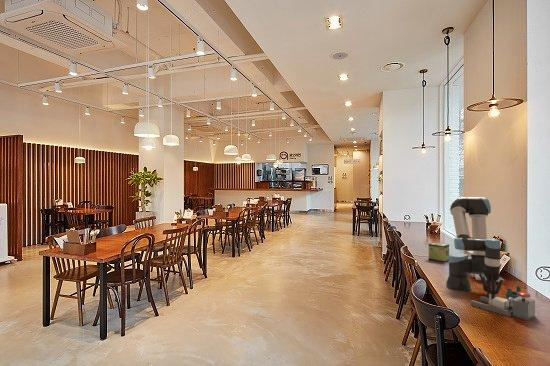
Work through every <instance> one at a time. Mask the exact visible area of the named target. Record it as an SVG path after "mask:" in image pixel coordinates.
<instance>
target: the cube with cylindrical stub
mask: <svg viewBox="0 0 550 366" xmlns="http://www.w3.org/2000/svg"><path fill="white" fill-rule="evenodd" d="M507 301H508V299H506V298H503V297H501V296H500V297H499V296H495V298H493V299H492V305H491V306H495V307H498V308H502V309H505V310H507Z"/></svg>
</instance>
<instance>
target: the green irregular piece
mask: <svg viewBox="0 0 550 366" xmlns="http://www.w3.org/2000/svg"><path fill="white" fill-rule="evenodd" d="M506 290H507V291H505V299H508V298H509V297H512V298H514V299H515V298H517V297H519V296H518V295H517V292H522V287H521V286H520V285H517V286H516V291H514V290H513V288H511V287H508V288H507V289H506Z"/></svg>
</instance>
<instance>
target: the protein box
mask: <svg viewBox="0 0 550 366" xmlns="http://www.w3.org/2000/svg"><path fill="white" fill-rule="evenodd" d="M449 256H450V244H447V243H438V242H430V243H428V260H429V261H434V262H440V263H447V262H448V263H449Z"/></svg>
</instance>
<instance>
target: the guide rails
mask: <svg viewBox="0 0 550 366" xmlns="http://www.w3.org/2000/svg"><path fill="white" fill-rule="evenodd" d="M483 302H484V303H483ZM470 306H474V307H477V308H479V307H480V309H483V310H487V311H490V312H493V313H497V314H500V315H503V316H506V317H513V314H512V312H511V311H509V310H505V309H502V308H498V307H495V306H492V305H489V298H487V296H482V295H480V296H479V301H477V300H473V299H471V300H470Z"/></svg>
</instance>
